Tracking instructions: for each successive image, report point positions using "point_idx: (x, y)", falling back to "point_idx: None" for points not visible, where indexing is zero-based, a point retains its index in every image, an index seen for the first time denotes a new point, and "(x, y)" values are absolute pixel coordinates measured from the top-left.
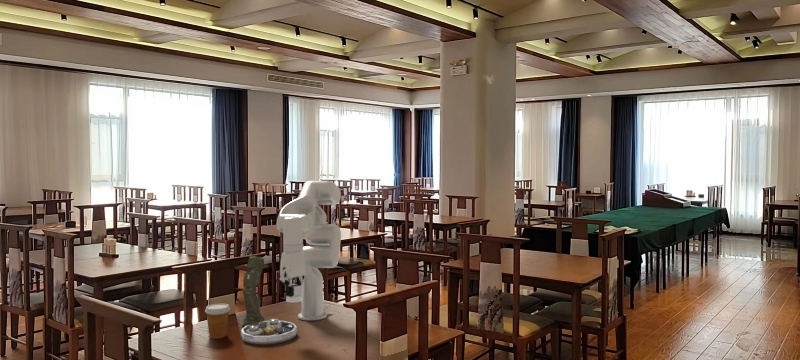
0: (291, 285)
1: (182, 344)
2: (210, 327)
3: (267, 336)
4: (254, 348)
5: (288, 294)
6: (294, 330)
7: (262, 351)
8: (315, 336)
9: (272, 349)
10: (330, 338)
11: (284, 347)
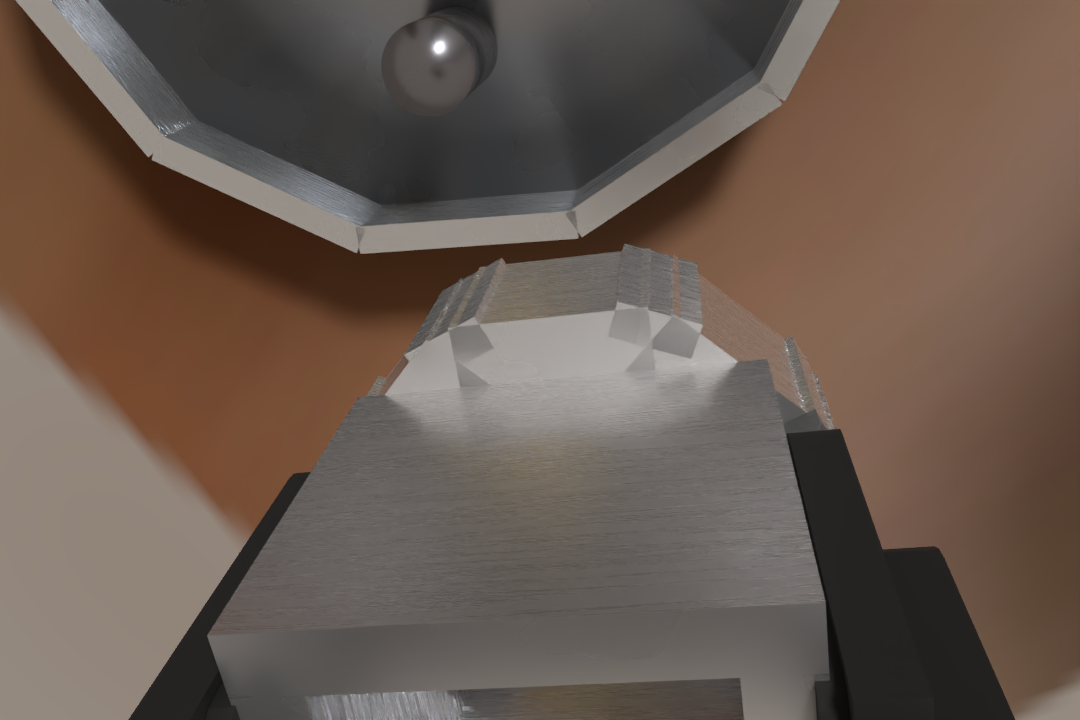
0: (567, 658)
1: None
2: None
3: (153, 150)
4: (15, 108)
5: None
6: (655, 183)
7: (51, 278)
8: (873, 350)
9: (174, 313)
10: (921, 546)
11: (318, 367)
